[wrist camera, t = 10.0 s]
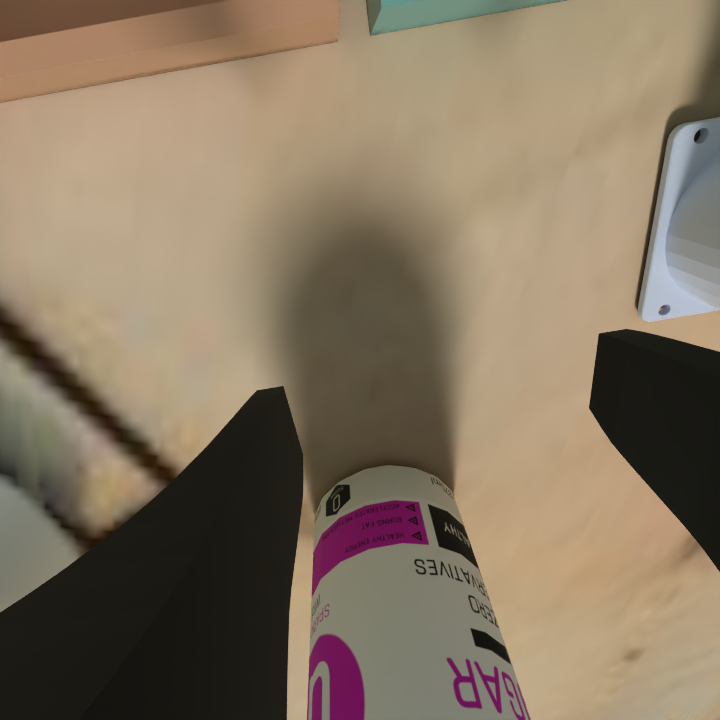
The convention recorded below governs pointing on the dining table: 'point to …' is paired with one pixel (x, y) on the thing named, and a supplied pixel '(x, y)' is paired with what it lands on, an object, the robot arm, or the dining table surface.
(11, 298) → the dining table surface
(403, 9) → the bin
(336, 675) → the supplement can
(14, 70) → the bin
